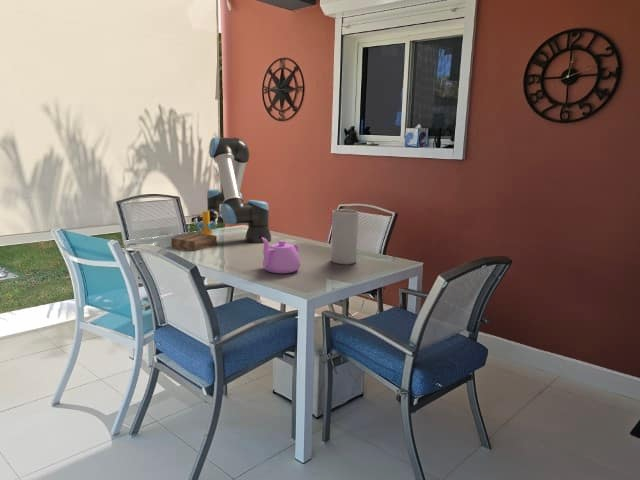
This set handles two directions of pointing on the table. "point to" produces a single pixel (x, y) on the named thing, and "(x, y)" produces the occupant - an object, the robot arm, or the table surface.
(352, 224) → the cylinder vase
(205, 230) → the orange blue tall piece
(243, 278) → the table surface
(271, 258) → the teapot
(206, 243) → the walnut block
